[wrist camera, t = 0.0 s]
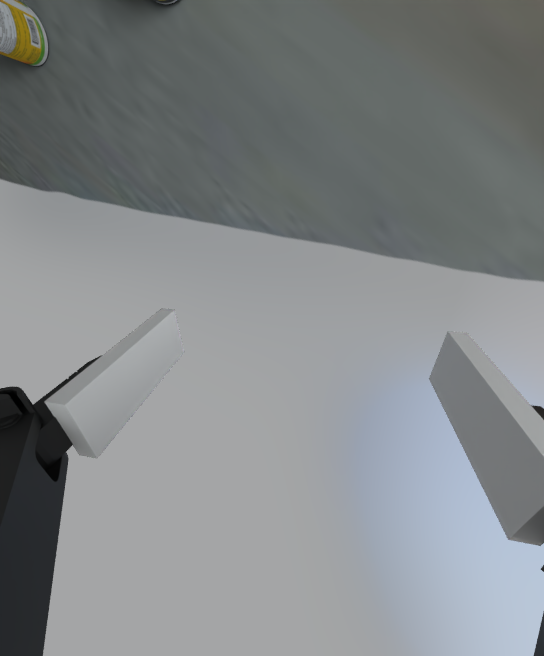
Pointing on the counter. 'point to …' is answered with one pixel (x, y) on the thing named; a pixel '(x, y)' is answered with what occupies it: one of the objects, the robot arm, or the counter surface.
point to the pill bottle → (166, 1)
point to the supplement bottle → (22, 33)
